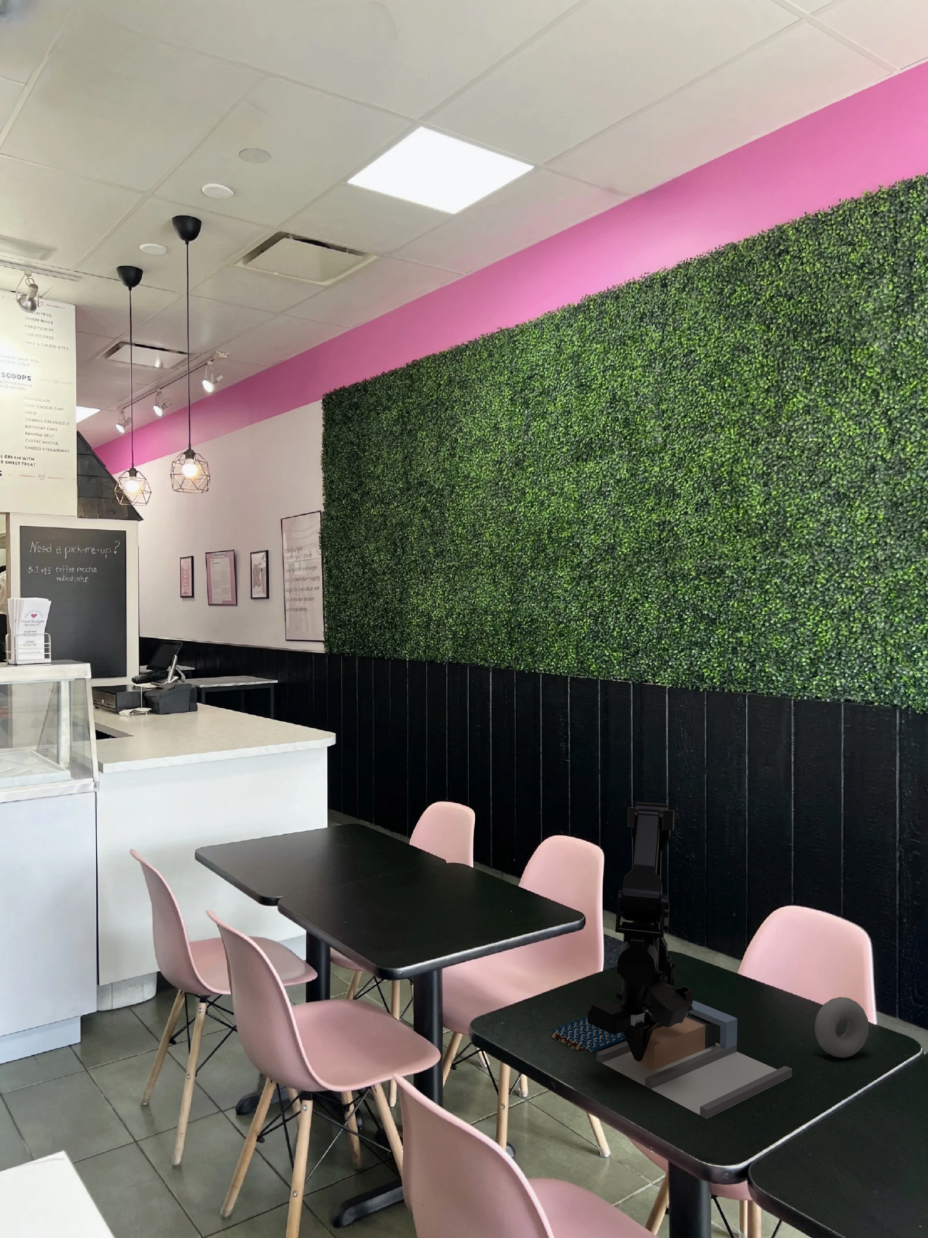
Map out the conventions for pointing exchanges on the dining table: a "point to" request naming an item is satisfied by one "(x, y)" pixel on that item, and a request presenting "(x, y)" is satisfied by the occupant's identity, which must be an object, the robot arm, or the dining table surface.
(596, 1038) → the woven mat
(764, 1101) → the dining table surface
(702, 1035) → the two-tone brown block
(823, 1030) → the donut
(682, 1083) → the grey tray
